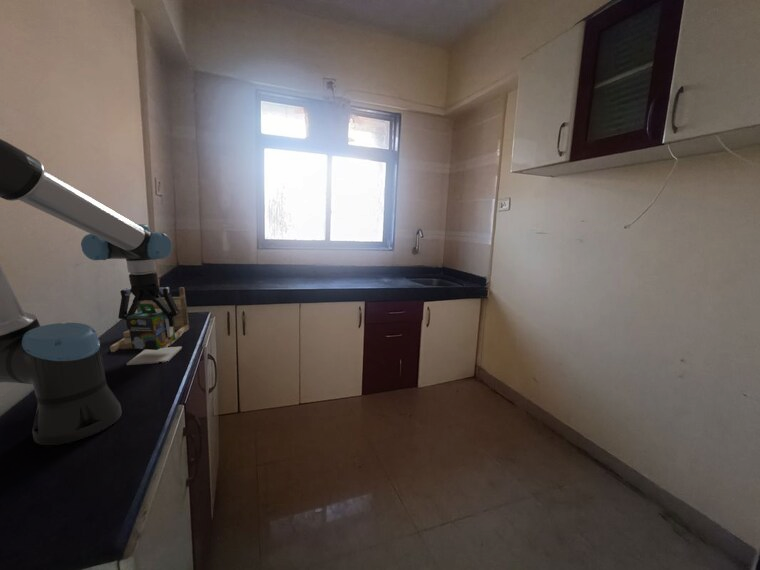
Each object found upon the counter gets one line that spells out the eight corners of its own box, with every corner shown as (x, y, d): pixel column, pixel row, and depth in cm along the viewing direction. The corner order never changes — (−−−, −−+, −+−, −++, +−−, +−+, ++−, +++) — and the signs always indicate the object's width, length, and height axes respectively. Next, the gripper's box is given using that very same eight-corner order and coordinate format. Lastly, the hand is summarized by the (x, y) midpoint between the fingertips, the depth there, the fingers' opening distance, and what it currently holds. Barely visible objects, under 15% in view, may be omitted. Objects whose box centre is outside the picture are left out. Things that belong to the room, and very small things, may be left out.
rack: (166, 348, 121) (159, 300, 117) (110, 351, 118) (101, 302, 114) (189, 328, 142) (184, 287, 138) (142, 331, 139) (135, 289, 135)
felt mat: (167, 362, 109) (167, 360, 109) (126, 365, 107) (126, 363, 107) (181, 348, 121) (181, 346, 121) (145, 350, 119) (145, 348, 119)
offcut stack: (162, 346, 122) (160, 331, 121) (120, 349, 120) (117, 333, 119) (168, 342, 127) (166, 327, 126) (127, 344, 124) (124, 329, 123)
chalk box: (176, 340, 118) (171, 299, 115) (157, 350, 109) (151, 307, 106) (152, 339, 118) (146, 298, 115) (130, 349, 110) (123, 306, 106)
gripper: (185, 269, 114) (193, 330, 118) (110, 271, 110) (122, 335, 115) (176, 273, 106) (185, 338, 111) (95, 275, 103) (109, 343, 107)
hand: (153, 336), depth 113 cm, fingers closed on chalk box, 10 cm apart
